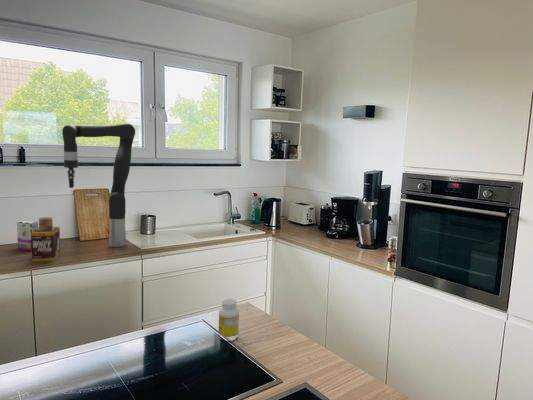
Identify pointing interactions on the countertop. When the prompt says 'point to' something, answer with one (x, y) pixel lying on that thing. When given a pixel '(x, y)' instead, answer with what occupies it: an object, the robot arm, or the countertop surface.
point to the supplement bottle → (228, 318)
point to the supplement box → (45, 244)
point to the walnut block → (45, 223)
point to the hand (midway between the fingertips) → (71, 186)
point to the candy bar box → (25, 234)
